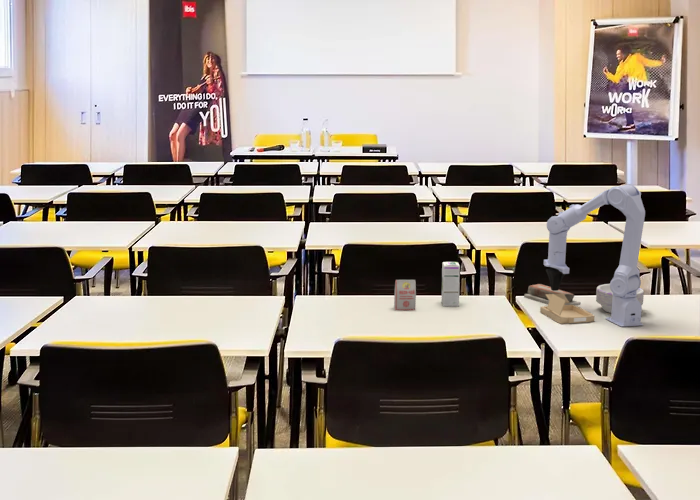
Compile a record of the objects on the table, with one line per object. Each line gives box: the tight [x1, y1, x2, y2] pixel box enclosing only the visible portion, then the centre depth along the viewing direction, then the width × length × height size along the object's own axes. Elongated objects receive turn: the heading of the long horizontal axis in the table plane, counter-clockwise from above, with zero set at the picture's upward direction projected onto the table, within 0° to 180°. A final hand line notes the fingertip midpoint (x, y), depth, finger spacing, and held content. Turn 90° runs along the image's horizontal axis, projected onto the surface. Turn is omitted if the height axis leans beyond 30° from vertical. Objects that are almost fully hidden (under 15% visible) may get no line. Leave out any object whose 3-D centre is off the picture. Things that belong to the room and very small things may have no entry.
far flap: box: [546, 293, 569, 303], centre depth 287 cm, size 1×6×5 cm
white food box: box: [393, 279, 417, 311], centre depth 285 cm, size 4×7×10 cm, turn 93°
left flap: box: [546, 294, 566, 315], centre depth 274 cm, size 8×1×5 cm, turn 15°
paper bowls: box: [595, 283, 645, 314], centre depth 285 cm, size 15×15×8 cm
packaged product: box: [523, 283, 581, 306], centre depth 298 cm, size 18×5×10 cm
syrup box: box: [441, 261, 461, 307], centre depth 291 cm, size 6×6×14 cm
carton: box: [539, 305, 596, 325], centre depth 278 cm, size 15×12×2 cm
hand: (554, 290), depth 289 cm, fingers closed
